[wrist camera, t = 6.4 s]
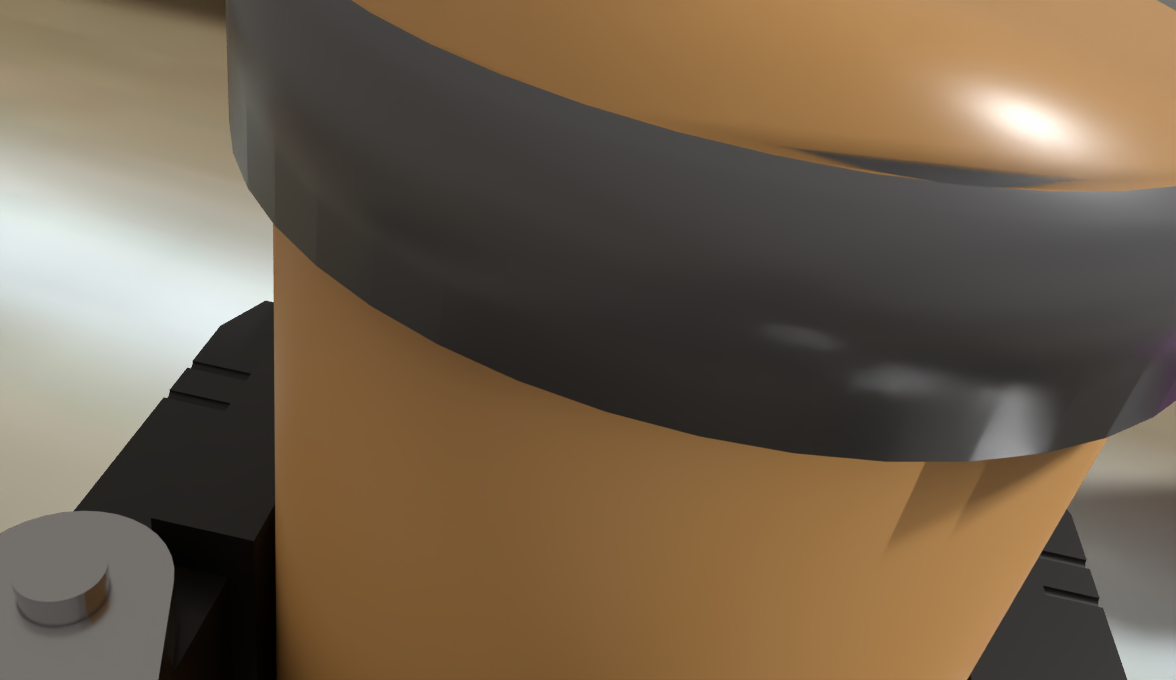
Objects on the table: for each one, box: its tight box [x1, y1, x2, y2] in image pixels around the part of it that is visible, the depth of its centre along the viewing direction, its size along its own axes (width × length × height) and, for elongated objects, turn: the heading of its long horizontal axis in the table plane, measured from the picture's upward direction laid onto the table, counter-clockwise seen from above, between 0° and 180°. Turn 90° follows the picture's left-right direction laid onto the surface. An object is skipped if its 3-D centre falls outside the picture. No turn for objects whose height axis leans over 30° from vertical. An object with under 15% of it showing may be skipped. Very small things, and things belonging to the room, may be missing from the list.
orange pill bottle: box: [225, 0, 1176, 680], centre depth 8 cm, size 5×5×11 cm
